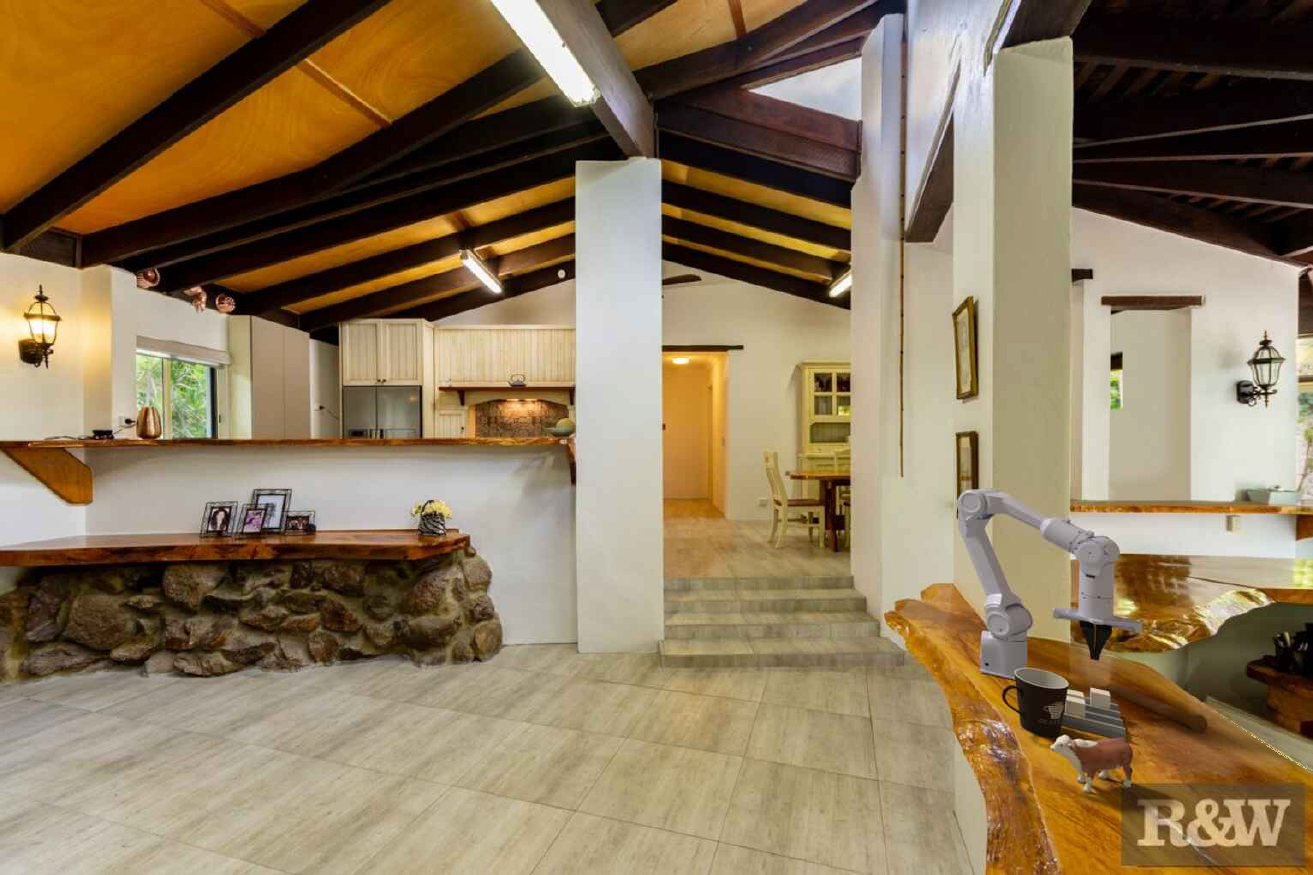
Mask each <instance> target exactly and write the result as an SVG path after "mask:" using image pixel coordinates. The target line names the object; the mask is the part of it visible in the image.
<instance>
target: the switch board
mask: <svg viewBox="0 0 1313 875" xmlns="http://www.w3.org/2000/svg"><path fill="white" fill-rule="evenodd" d="M1084 700H1085V718H1082V717H1079V716H1075V715H1074V716H1073V715H1069V714H1065V709H1064V716H1063V722H1062V726H1063V727H1064V726H1065V727H1068V728H1072V729H1076V730H1081V731H1084V732H1088V733H1092V734H1095V735H1100V736H1104V737H1108V738H1110V739H1114V738H1117V739H1118V738H1124V739H1126V732H1127V731H1126V727H1124V720H1123V719H1122V718H1121V716H1122V715H1121V711H1119V705H1118V704H1117V703H1112V702H1110V709H1106V708H1101V707H1097V706H1092V705H1090V697H1086V696H1084Z"/></svg>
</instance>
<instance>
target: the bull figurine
mask: <svg viewBox="0 0 1313 875" xmlns="http://www.w3.org/2000/svg"><path fill="white" fill-rule="evenodd" d="M1050 750H1051V752H1053V753H1055V754H1059V755H1061V756H1062V757H1063V758H1065V759H1068V760H1069V764H1071V766H1072V767H1074V768H1075V769H1076V771H1077V772H1078V773H1079V776H1078V777H1077V779H1076V781H1077V783H1078V784H1079V783H1080V784H1084V783H1085V782H1086V783H1085V784H1084V787H1083V788H1082V789H1081V790H1082V792H1084V793H1085V794H1088V795H1089V794H1091V791H1093V789H1092V785H1091V784H1092V783H1093V782H1094V778H1095V776H1096V774H1097V772H1098V771H1101V772H1099V774H1098V776H1097V777H1098V779H1100V780H1106V778H1107V777H1109V771H1113V772H1114V771H1116V770H1120V769H1121V767H1122V770H1123V771H1124V773H1125V779H1124V781H1123V783H1122V786H1123V787H1125V788H1126V789H1130V788H1131V785H1132V784H1133V783H1132V774H1133V772H1134V770H1133V769H1132V766H1131V764H1132V761H1133V757H1134V750H1133V748H1132V746H1131V745H1130V743H1129V742H1128V740H1127V739H1126V738H1125V739H1124V738H1118V739H1117V738H1102V739H1099V740H1098V739H1097V740H1088V739H1081V738H1077V739H1071V737H1069V735H1067V734H1063V735H1061V736H1059V737H1056V741H1055V742H1054V743H1053V744H1051V745H1050ZM1085 773H1086V774H1087V775H1085Z"/></svg>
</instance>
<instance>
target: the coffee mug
mask: <svg viewBox="0 0 1313 875" xmlns="http://www.w3.org/2000/svg"><path fill="white" fill-rule="evenodd" d="M1014 674H1015V680H1014V682H1015V685H1014V684H1010V685H1007V686H1006V687H1005V688H1004V689H1003V690H1002V693H1001V699H1002V701H1003V702H1004V704H1005V705H1006V706H1007V707H1008V708H1009V709H1011V710H1013V711H1014V712H1015V713H1017V714H1019V715H1018V716H1019V722H1020V726H1021V727H1022V728H1023V729H1024V730H1025V731H1027V732H1028V733H1030V734H1033V735H1036V736H1038V737H1042V738H1049V739H1055V738H1056V739H1057V738H1059V737H1061V733H1062V726H1063V725H1062V722H1063V716H1064V709H1065V703H1066V697H1067V691H1068V689H1069V682H1068V680H1067V679H1065V678H1064V677H1063V676H1061V675H1059V674H1056V673H1054V672H1051V671H1049V670H1048V671H1047V670H1044V669H1041V668H1040V669H1039V668H1033V667H1027V668H1019V669H1016V670H1015V671H1014ZM1012 689H1013V690H1015V691H1016V697H1017V706H1018V709H1017V708H1015V707H1014V706H1013V705H1011V704H1010V703H1009V702H1008V700H1007V698H1006V695H1007V693H1008V692H1010V690H1012Z"/></svg>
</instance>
